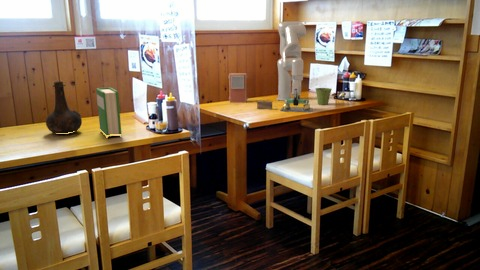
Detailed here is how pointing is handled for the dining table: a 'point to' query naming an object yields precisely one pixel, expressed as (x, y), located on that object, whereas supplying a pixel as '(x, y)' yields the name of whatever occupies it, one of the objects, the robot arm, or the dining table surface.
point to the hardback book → (108, 110)
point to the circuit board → (300, 101)
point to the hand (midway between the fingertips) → (296, 104)
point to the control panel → (238, 87)
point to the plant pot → (323, 95)
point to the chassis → (296, 108)
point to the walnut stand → (264, 105)
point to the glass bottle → (62, 114)
